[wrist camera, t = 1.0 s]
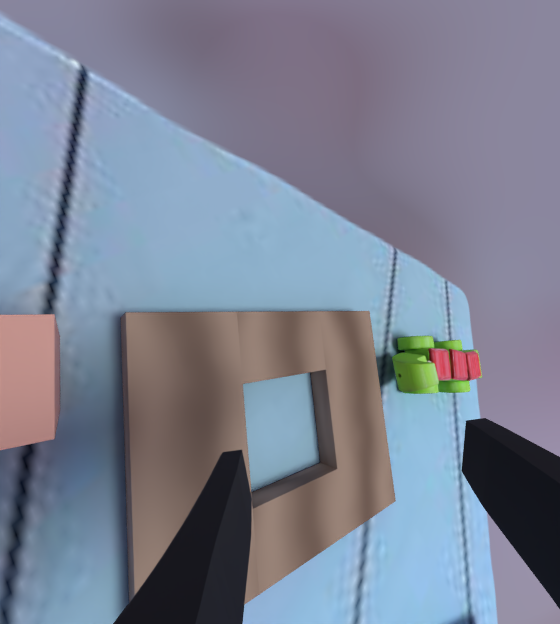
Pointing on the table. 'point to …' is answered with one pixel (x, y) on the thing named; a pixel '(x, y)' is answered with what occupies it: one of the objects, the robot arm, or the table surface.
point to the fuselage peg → (29, 379)
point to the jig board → (232, 429)
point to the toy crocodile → (434, 366)
